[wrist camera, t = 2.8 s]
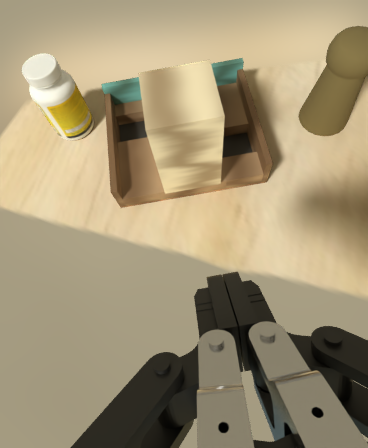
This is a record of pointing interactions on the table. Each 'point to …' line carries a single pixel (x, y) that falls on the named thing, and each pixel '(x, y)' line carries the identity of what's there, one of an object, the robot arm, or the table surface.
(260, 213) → the table surface
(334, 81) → the olive pawn
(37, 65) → the supplement bottle
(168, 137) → the maple block
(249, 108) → the trap lane
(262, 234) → the table surface
